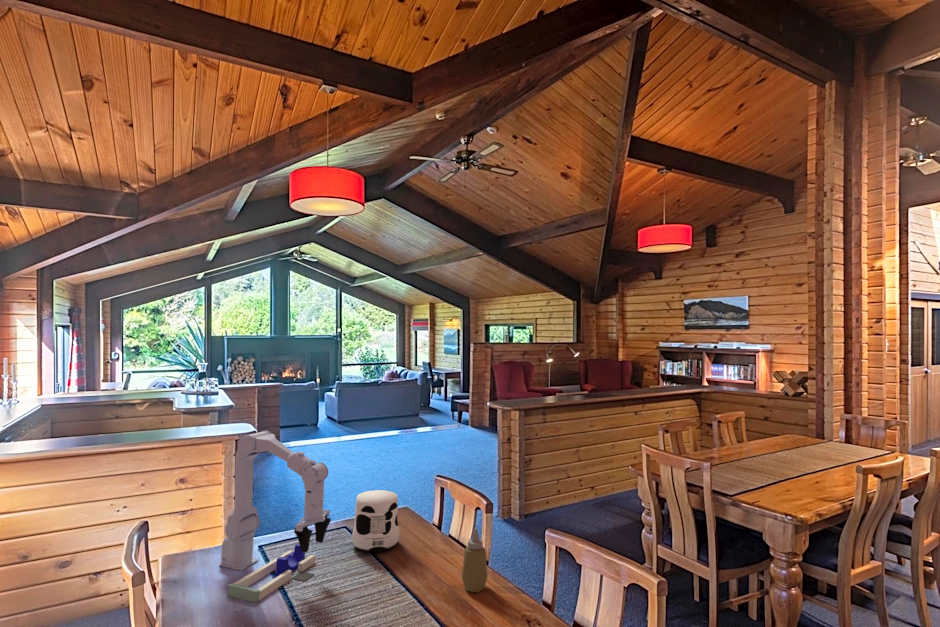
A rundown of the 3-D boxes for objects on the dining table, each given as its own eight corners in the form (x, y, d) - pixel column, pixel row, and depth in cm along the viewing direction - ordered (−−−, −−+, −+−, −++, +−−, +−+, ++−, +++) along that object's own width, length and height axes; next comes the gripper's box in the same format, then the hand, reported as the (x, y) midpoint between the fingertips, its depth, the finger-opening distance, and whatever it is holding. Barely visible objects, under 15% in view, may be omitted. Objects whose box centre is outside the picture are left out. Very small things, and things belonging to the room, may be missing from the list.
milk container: (376, 532, 193) (377, 486, 194) (408, 544, 183) (410, 495, 184) (341, 547, 179) (343, 497, 180) (374, 560, 169) (376, 507, 170)
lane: (227, 595, 144) (227, 585, 144) (289, 557, 169) (289, 548, 169) (256, 602, 140) (256, 591, 140) (315, 562, 166) (315, 553, 166)
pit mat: (291, 578, 155) (291, 578, 155) (301, 571, 159) (301, 571, 159) (304, 581, 153) (304, 581, 153) (314, 574, 158) (314, 573, 158)
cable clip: (292, 561, 167) (293, 543, 168) (304, 562, 166) (305, 544, 167) (271, 577, 156) (272, 558, 156) (284, 579, 155) (285, 559, 155)
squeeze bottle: (490, 584, 154) (491, 526, 155) (482, 597, 146) (484, 536, 148) (466, 580, 157) (467, 522, 158) (457, 592, 149) (459, 531, 150)
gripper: (310, 512, 148) (308, 558, 147) (337, 497, 162) (336, 539, 161) (290, 508, 150) (288, 554, 149) (319, 495, 164) (318, 536, 163)
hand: (312, 546), depth 155 cm, fingers open, 7 cm apart
